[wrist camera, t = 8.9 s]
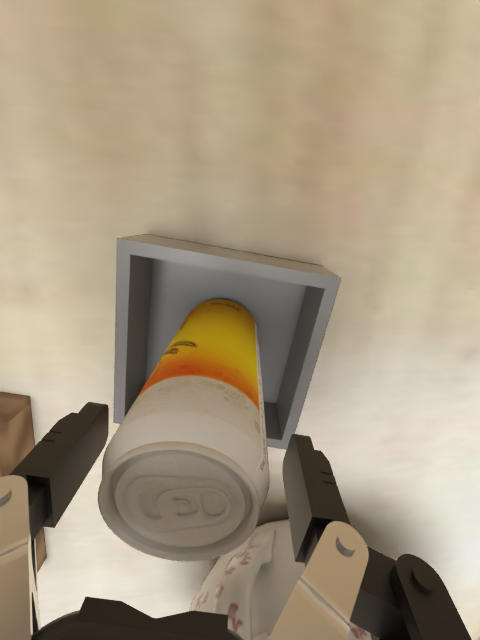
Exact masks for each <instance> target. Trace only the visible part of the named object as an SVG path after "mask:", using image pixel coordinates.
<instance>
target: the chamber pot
mask: <svg viewBox="0 0 480 640" xmlns="http://www.w3.org/2000/svg"><path fill="white" fill-rule="evenodd" d="M366 545H367V544H366ZM367 546H368V545H367ZM368 547H369V546H368ZM304 570H305V563H301V562H295V559H294V552H293V545H292V538H291V530H290V523H289V519H286V520H280V521H273V522H268V523H265V524H263V525H260V526H258V527H256V528H255V530H254V532H253V533H252V535H251V536H250V537H249V538H248V540H247V541H246V542H245V543H243V544H242V545H241V546H240V547H238V548H237V549H235V550H233V551H231V552H229V553H227V554H225V555H222V556H220V558H219V559H218V561H217V562H216V564H215V565H214V567H213V569H212V570H211V572H210V573H209V575H208V576H207V578H206V579H205V581H204V582H203V584H202V586H201V587H200V589H199V591H198V593H197V594H196V596H195V598H194V599H193V601H192V603H191V606H190V609H189V611H202V612H209V613H217V614H225V615H228V629H230V630H232V631H234V632H235V633H236V634H238V635H239V636H240V637H242V638H243V639H244V640H268V639H269V637H270V635H271V633H272V631H273V629H274V627H275V625H276V623H277V621H278V619H279V617H280V615H281V613H282V611H283V609H284V607H285V605H286V603H287V601H288V599H289V597H290V595H291V593H292V591H293V589H294V587H295V585H296V583H297V582H298V580H299V578H301V576H302V574H303V572H304ZM349 625H350V631H349V635H348V638H347V640H372V639H371V635H370V633H369V632H367V631H366V630H364V629H362V628H360V627H359V626H357V625H355V624H353V623H352V622H350V621H349Z"/></svg>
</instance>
